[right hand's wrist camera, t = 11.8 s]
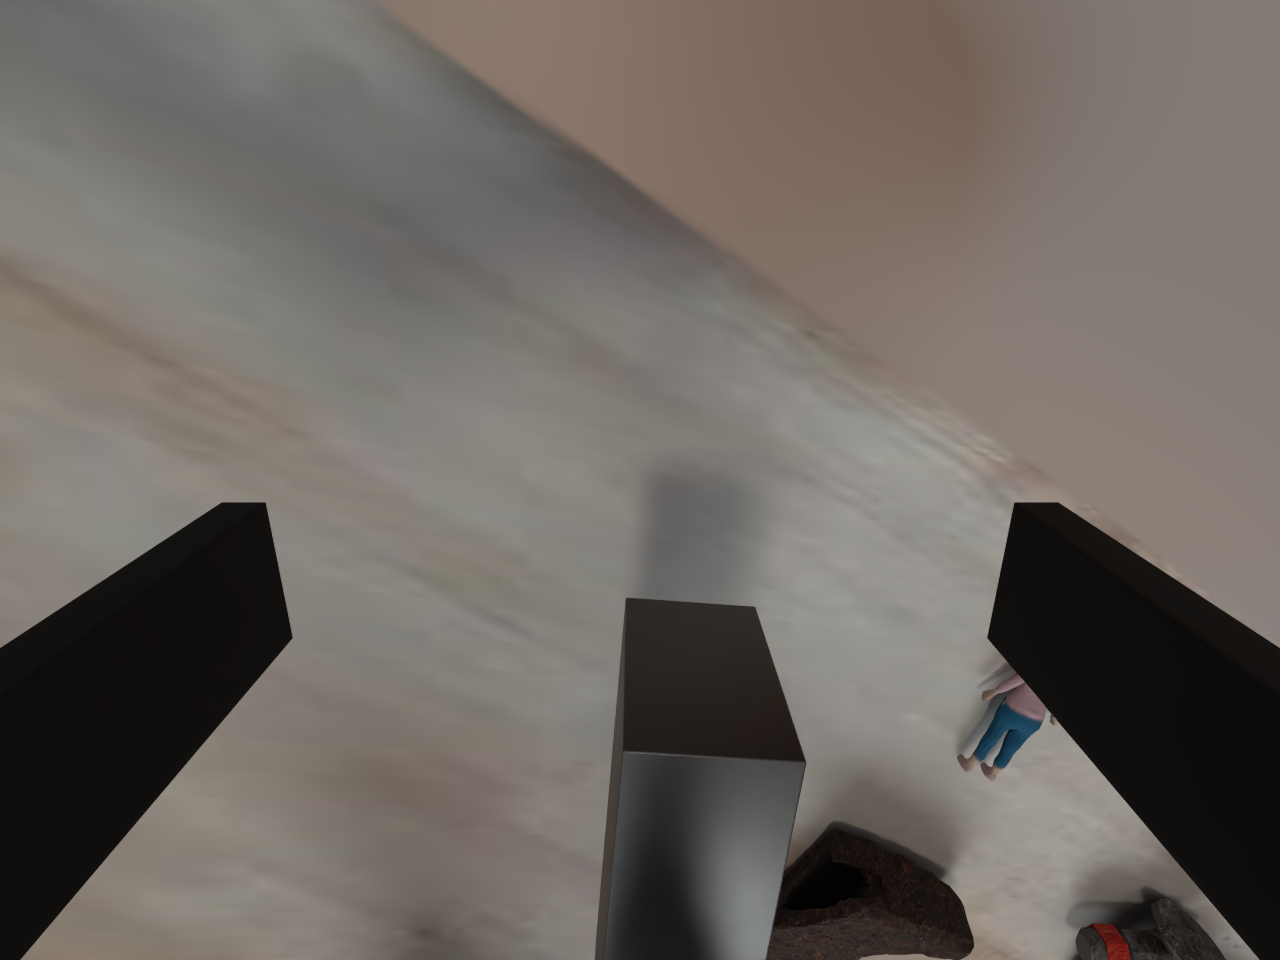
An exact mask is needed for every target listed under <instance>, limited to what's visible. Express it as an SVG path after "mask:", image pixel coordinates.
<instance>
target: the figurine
mask: <svg viewBox="0 0 1280 960" xmlns="http://www.w3.org/2000/svg"><path fill="white" fill-rule="evenodd" d="M1014 687H1016V689H1014V690H1013V691H1012V692H1011V693H1010V694H1008V695H1007V696H1006V697H1005V698H1004V700H1003V701H1002V703H1001V704H1000V706H999V707H998V709H997V711H996V713H995V716H994V719H993V721H992V722H991V724H990V726H989V728H988V730H987V731H986V733H985V734H984V735H983V737H982V738H981V740H980V742H979V745H978V746H977V748H976V750H975V751H974V753H973V754H972V756H971V757H970V758H969V759H966V758H965V757H964V756H963V755H961V754H960V755H958V757H957V759H958V761H959V764H960V765H961V767H962V768H963V769H964V771H965V772H970V771H971V770H972V768H973V767H974V765H976V764H978V763H980V762H981V761H982V760H983V759H984V758H985V757H986V755H987V753H988V752H989V751H990V750H991V748H992V747H993V746H994V745H995V744H996V743H997V741H998V740H999V739H1000V737H1001V736H1002V734H1003V733H1004V732H1005V731H1007V730H1009V731H1008V732H1007V734H1006V736H1005V738H1004V741H1003V744H1002V747H1001V750H1000V752H999V754H998V755H997V757H996V758H995V760H994V763H993V766H992V767H989V766H988V765H987V764H986V763H985V762H983V763H981V765H980V766H981V769H982V771H983V773H984V775H985V776H986V777H987V778H988V779H989V780H991V781H993V780H995V777H996V776H997V774H998V773H999V772H1000V771H1001V770H1002V769H1004V768H1005V767H1006V765H1007V764H1008V763H1009V761H1010V760H1011V758H1012V756H1013V754H1014V753H1015V752H1016V751H1017V750H1018V749H1019V748H1020V747H1021V746H1022V745H1023V743H1024V742H1025V741H1026V740H1027V739H1028V738H1029V737H1030V736H1031V735H1032V734H1033V733H1034V732H1036V731H1037V730H1039V728H1040V726H1041V724H1042V722H1043V720H1044V718H1045V708H1046V707H1045V705H1044V704H1043V703H1042V702H1041V701H1040V700H1039V698H1038V697H1037V696H1036V695H1035V694H1034V692H1033V691H1032V690H1031V689H1030V688H1029V687H1028V685H1027V684H1026V683H1025V682H1024V681H1023V679H1022V678H1021V677H1020V676H1019V675H1018V674H1016V675H1015V676H1013V677H1012V678H1010V679H1008V680H1006V681H1004V682H1002V683H1001V684H999V685H998V687H997V688H996V689H995V690H987V691H984V692H983V695H982V699H983V700H988V699H990V698H991V697H993V696H995V695H996V694H998V693H1002V692H1006V691H1008V690H1010V689H1012V688H1014ZM1050 718H1051V719H1050V722H1051V724H1052V725H1054V726H1055V725H1056V724H1057V723H1058V721H1057V720H1056V718H1055V717H1054V716H1053V715H1052V714H1051V716H1050Z"/></svg>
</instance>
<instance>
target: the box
mask: <svg viewBox="0 0 1280 960" xmlns="http://www.w3.org/2000/svg"><path fill="white" fill-rule="evenodd" d="M805 767H806V760H805V757H804V754H803V751H802V748H801V745H800V742H799V739H798V736H797V733H796V730H795V727H794V724H793V721H792V718H791V715H790V712H789V709H788V705H787V702H786V699H785V696H784V693H783V690H782V687H781V684H780V681H779V678H778V675H777V672H776V669H775V666H774V663H773V660H772V657H771V654H770V651H769V648H768V645H767V642H766V638H765V635H764V632H763V629H762V626H761V623H760V620H759V617H758V614H757V611H756V608H755V607H750V606H736V605H722V604H708V603H693V602H679V601H665V600H651V599H637V598H626V602H625V613H624V625H623V636H622V648H621V659H620V671H619V682H618V694H617V705H616V717H615V728H614V740H613V751H612V762H611V774H610V785H609V797H608V808H607V820H606V831H605V843H604V854H603V866H602V877H601V889H600V900H599V912H598V923H597V935H596V950H595V960H766V959H767V955H768V950H769V945H770V940H771V935H772V930H773V925H774V920H775V915H776V910H777V905H778V900H779V895H780V890H781V885H782V880H783V875H784V871H785V866H786V861H787V856H788V851H789V846H790V841H791V836H792V831H793V826H794V821H795V816H796V811H797V806H798V801H799V796H800V791H801V786H802V782H803V777H804V772H805Z"/></svg>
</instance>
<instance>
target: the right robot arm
mask: <svg viewBox="0 0 1280 960" xmlns="http://www.w3.org/2000/svg"><path fill="white" fill-rule="evenodd" d="M292 638H293V637H292V632H291V627H290V622H289V617H288V612H287V607H286V602H285V597H284V592H283V587H282V582H281V577H280V572H279V567H278V562H277V557H276V552H275V547H274V542H273V537H272V532H271V527H270V522H269V517H268V512H267V507H266V503H220V504H219V505H217V506H216V507H214V508H213V509H211V510H210V511H208V512H207V513H205V514H204V515H202V516H201V517H199V518H198V519H196V520H194V521H193V522H191V523H190V524H188V525H187V526H185V527H184V528H182V529H181V530H179V531H178V532H176V533H175V534H173V535H172V536H170V537H169V538H167V539H166V540H164V541H163V542H161V543H159V544H158V545H156V546H155V547H153V548H152V549H150V550H149V551H147V552H146V553H144V554H143V555H141V556H140V557H138V558H137V559H135V560H134V561H132V562H131V563H129V564H128V565H126V566H124V567H123V568H121V569H120V570H118V571H117V572H115V573H114V574H112V575H111V576H109V577H108V578H106V579H105V580H103V581H102V582H100V583H99V584H97V585H96V586H94V587H93V588H91V589H89V590H88V591H86V592H85V593H83V594H82V595H80V596H79V597H77V598H76V599H74V600H73V601H71V602H70V603H68V604H67V605H65V606H64V607H62V608H61V609H59V610H58V611H56V612H54V613H53V614H51V615H50V616H48V617H47V618H45V619H44V620H42V621H41V622H39V623H38V624H36V625H35V626H33V627H32V628H30V629H29V630H27V631H26V632H24V633H23V634H21V635H19V636H18V637H16V638H15V639H13V640H12V641H10V642H9V643H7V644H6V645H4V646H3V647H1V648H0V960H20V959H21V958H22V957H23V956H24V955H25V954H26V952H27V951H28V950H29V949H30V948H31V946H32V945H33V944H34V943H35V942H36V941H37V939H38V938H39V937H40V936H41V935H42V933H43V932H44V931H45V930H46V929H47V928H48V926H49V925H50V924H51V923H52V922H53V920H54V919H55V918H56V917H57V916H58V915H59V913H60V912H61V911H62V910H63V909H64V907H65V906H66V905H67V904H68V903H69V902H70V900H71V899H72V898H73V897H74V896H75V894H76V893H77V892H78V891H79V890H80V889H81V887H82V886H83V885H84V884H85V883H86V881H87V880H88V879H89V878H90V877H91V876H92V874H93V873H94V872H95V871H96V870H97V868H98V867H99V866H100V865H101V864H102V863H103V861H104V860H105V859H106V858H107V857H108V855H109V854H110V853H111V852H112V851H113V850H114V848H115V847H116V846H117V845H118V844H119V842H120V841H121V840H122V839H123V838H124V837H125V835H126V834H127V833H128V832H129V831H130V829H131V828H132V827H133V826H134V825H135V824H136V822H137V821H138V820H139V819H140V818H141V816H142V815H143V814H144V813H145V812H146V811H147V809H148V808H149V807H150V806H151V805H152V804H153V802H154V801H155V800H156V799H157V798H158V796H159V795H160V794H161V793H162V792H163V791H164V789H165V788H166V787H167V786H168V785H169V783H170V782H171V781H172V780H173V779H174V778H175V776H176V775H177V774H178V773H179V772H180V770H181V769H182V768H183V767H184V766H185V765H186V763H187V762H188V761H189V760H190V759H191V757H192V756H193V755H194V754H195V753H196V752H197V750H198V749H199V748H200V747H201V746H202V744H203V743H204V742H205V741H206V740H207V739H208V737H209V736H210V735H211V734H212V733H213V731H214V730H215V729H216V728H217V727H218V726H219V724H220V723H221V722H222V721H223V720H224V718H225V717H226V716H227V715H228V714H229V713H230V711H231V710H232V709H233V708H234V707H235V705H236V704H237V703H238V702H239V701H240V700H241V698H242V697H243V696H244V695H245V694H246V692H247V691H248V690H249V689H250V688H251V687H252V685H253V684H254V683H255V682H256V681H257V679H258V678H259V677H260V676H261V675H262V674H263V672H264V671H265V670H266V669H267V668H268V667H269V665H270V664H271V663H272V662H273V661H274V659H275V658H276V657H277V656H278V655H279V654H280V652H281V651H282V650H283V649H284V648H285V646H286V645H287V644H288V643H289V642H290V641H291V639H292ZM987 638H988V639H989V641H990V642H991V643H992V644H993V645H994V646H995V648H996V649H997V650H998V651H999V652H1000V654H1001V655H1002V656H1003V657H1004V658H1005V659H1006V661H1007V662H1008V663H1009V664H1010V665H1011V667H1012V668H1013V669H1014V670H1015V671H1016V672H1017V674H1018V675H1019V676H1020V677H1021V678H1022V679H1023V681H1024V682H1025V683H1026V684H1027V685H1028V687H1029V688H1030V689H1031V690H1032V691H1033V692H1034V694H1035V695H1036V696H1037V697H1038V698H1039V700H1040V701H1041V702H1042V703H1043V704H1044V705H1045V707H1046V708H1047V709H1048V710H1049V711H1050V713H1051V714H1052V715H1053V716H1054V717H1055V718H1056V720H1057V721H1058V722H1059V723H1060V724H1061V726H1062V727H1063V728H1064V729H1065V730H1066V731H1067V733H1068V734H1069V735H1070V736H1071V737H1072V739H1073V740H1074V741H1075V742H1076V743H1077V744H1078V746H1079V747H1080V748H1081V749H1082V750H1083V752H1084V753H1085V754H1086V755H1087V756H1088V757H1089V759H1090V760H1091V761H1092V762H1093V763H1094V765H1095V766H1096V767H1097V768H1098V769H1099V770H1100V772H1101V773H1102V774H1103V775H1104V776H1105V778H1106V779H1107V780H1108V781H1109V782H1110V783H1111V785H1112V786H1113V787H1114V788H1115V789H1116V791H1117V792H1118V793H1119V794H1120V795H1121V796H1122V798H1123V799H1124V800H1125V801H1126V802H1127V804H1128V805H1129V806H1130V807H1131V808H1132V809H1133V811H1134V812H1135V813H1136V814H1137V815H1138V816H1139V818H1140V819H1141V820H1142V821H1143V822H1144V824H1145V825H1146V826H1147V827H1148V828H1149V829H1150V831H1151V832H1152V833H1153V834H1154V835H1155V837H1156V838H1157V839H1158V840H1159V841H1160V842H1161V844H1162V845H1163V846H1164V847H1165V848H1166V850H1167V851H1168V852H1169V853H1170V854H1171V855H1172V857H1173V858H1174V859H1175V860H1176V861H1177V863H1178V864H1179V865H1180V866H1181V867H1182V868H1183V870H1184V871H1185V872H1186V873H1187V874H1188V876H1189V877H1190V878H1191V879H1192V880H1193V881H1194V883H1195V884H1196V885H1197V886H1198V887H1199V889H1200V890H1201V891H1202V892H1203V893H1204V894H1205V896H1206V897H1207V898H1208V899H1209V900H1210V902H1211V903H1212V904H1213V905H1214V906H1215V907H1216V909H1217V910H1218V911H1219V912H1220V913H1221V915H1222V916H1223V917H1224V918H1225V919H1226V920H1227V922H1228V923H1229V924H1230V925H1231V926H1232V928H1233V929H1234V930H1235V931H1236V932H1237V933H1238V935H1239V936H1240V937H1241V938H1242V939H1243V941H1244V942H1245V943H1246V944H1247V945H1248V946H1249V948H1250V949H1251V950H1252V951H1253V952H1254V954H1255V955H1256V956H1257V957H1258V958H1259V959H1260V960H1280V648H1279V647H1277V646H1276V645H1274V644H1273V643H1271V642H1270V641H1268V640H1267V639H1265V638H1264V637H1262V636H1261V635H1259V634H1257V633H1256V632H1254V631H1253V630H1251V629H1250V628H1248V627H1247V626H1245V625H1244V624H1242V623H1241V622H1239V621H1238V620H1236V619H1235V618H1233V617H1232V616H1230V615H1229V614H1227V613H1226V612H1224V611H1222V610H1221V609H1219V608H1218V607H1216V606H1215V605H1213V604H1212V603H1210V602H1209V601H1207V600H1206V599H1204V598H1203V597H1201V596H1200V595H1198V594H1197V593H1195V592H1194V591H1192V590H1191V589H1189V588H1187V587H1186V586H1184V585H1183V584H1181V583H1180V582H1178V581H1177V580H1175V579H1174V578H1172V577H1171V576H1169V575H1168V574H1166V573H1165V572H1163V571H1162V570H1160V569H1159V568H1157V567H1156V566H1154V565H1152V564H1151V563H1149V562H1148V561H1146V560H1145V559H1143V558H1142V557H1140V556H1139V555H1137V554H1136V553H1134V552H1133V551H1131V550H1130V549H1128V548H1127V547H1125V546H1124V545H1122V544H1121V543H1119V542H1117V541H1116V540H1114V539H1113V538H1111V537H1110V536H1108V535H1107V534H1105V533H1104V532H1102V531H1101V530H1099V529H1098V528H1096V527H1095V526H1093V525H1092V524H1090V523H1089V522H1087V521H1086V520H1084V519H1082V518H1081V517H1079V516H1078V515H1076V514H1075V513H1073V512H1072V511H1070V510H1069V509H1067V508H1066V507H1064V506H1063V505H1061V504H1060V503H1014V507H1013V512H1012V517H1011V522H1010V527H1009V532H1008V537H1007V542H1006V547H1005V552H1004V557H1003V562H1002V567H1001V572H1000V577H999V582H998V587H997V592H996V597H995V602H994V607H993V612H992V617H991V622H990V627H989V632H988V637H987Z"/></svg>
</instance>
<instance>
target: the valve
mask: <svg viewBox="0 0 1280 960" xmlns="http://www.w3.org/2000/svg"><path fill="white" fill-rule="evenodd" d="M1151 909H1152V914H1153V917H1154V919H1155V921H1156V923H1157V926H1156V928H1154V929H1152V930H1135V929H1116V928H1115V927H1114V926H1113V925H1110V924H1091V925H1089V926H1088V927H1082V928H1081V929H1080V931H1079V933H1078V935H1077V937H1076V947H1077V951H1078V953H1079V956H1080V957H1081V959H1082V960H1226V959H1225V958H1224V956H1223V954H1222V953H1221V951H1220V950H1219V949H1218V947H1217V946H1216V944H1215V943H1214V942H1213V940H1212V939H1211V938H1210V937H1209V935H1208V934H1207V933H1206V932H1205V931H1204V930H1203V929H1202V927H1201V926H1200V925H1199V924H1198V923H1197V922H1196V921H1195V920H1194V919H1193V918H1192V917H1191V916H1190V915H1189V914H1188V913H1187V912H1185V911H1184V910H1183V909H1182V908H1181V907H1179V906H1178V905H1177V904H1175V903H1174V902H1172V901H1170V900H1168V899H1165V898H1161V899H1158V900H1157V901H1155V902H1153V903H1152V905H1151Z"/></svg>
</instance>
